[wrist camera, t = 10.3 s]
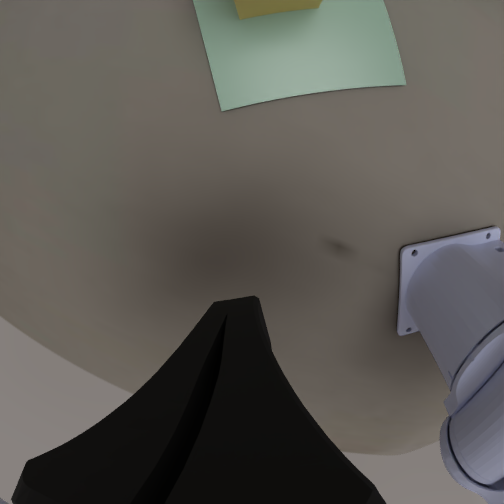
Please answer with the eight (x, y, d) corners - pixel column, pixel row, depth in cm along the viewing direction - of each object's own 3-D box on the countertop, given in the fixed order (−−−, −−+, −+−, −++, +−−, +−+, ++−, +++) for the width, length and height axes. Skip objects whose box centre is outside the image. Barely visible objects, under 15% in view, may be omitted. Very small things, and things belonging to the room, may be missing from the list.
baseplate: (355, -59, 10) (357, -61, 9) (403, 85, 14) (406, 84, 14) (184, -37, 11) (182, -40, 11) (222, 111, 16) (221, 111, 15)
